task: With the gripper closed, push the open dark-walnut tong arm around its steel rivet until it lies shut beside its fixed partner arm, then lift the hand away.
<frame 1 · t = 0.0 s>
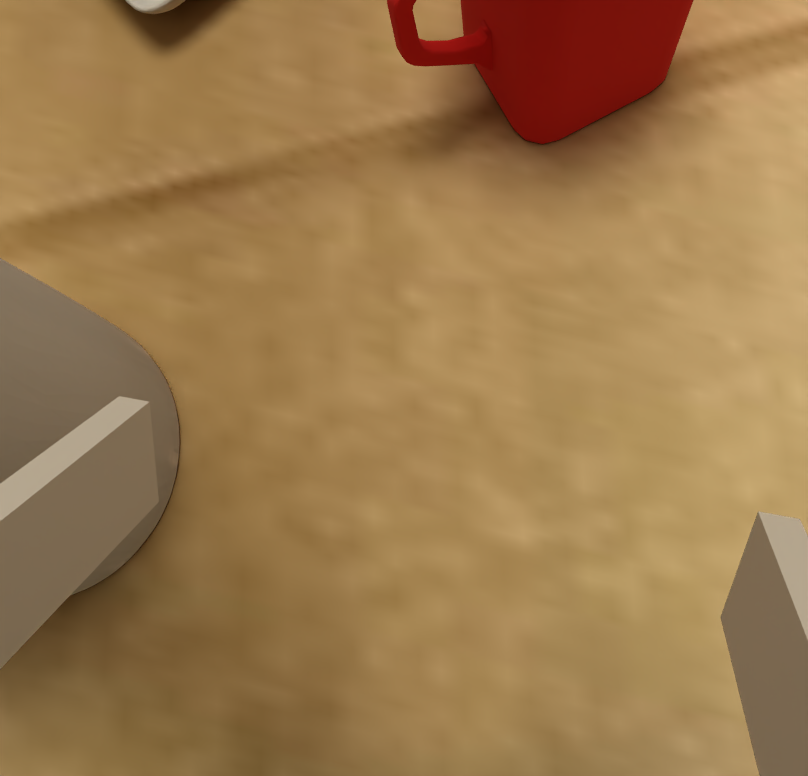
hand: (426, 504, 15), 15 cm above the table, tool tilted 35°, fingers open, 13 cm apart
utensil holder: (51, 455, 34), on the table
mug: (528, 74, 34), on the table
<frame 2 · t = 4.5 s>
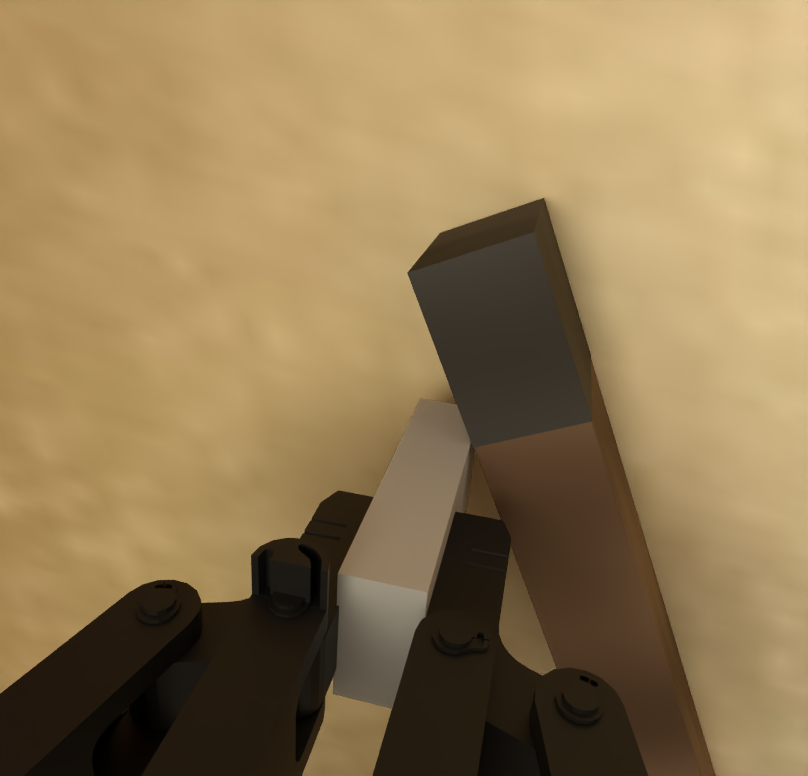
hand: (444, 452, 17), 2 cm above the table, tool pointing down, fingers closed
tong arm: (626, 670, 19), point 2 cm above the table, hinge at 26.0°, touching gripper
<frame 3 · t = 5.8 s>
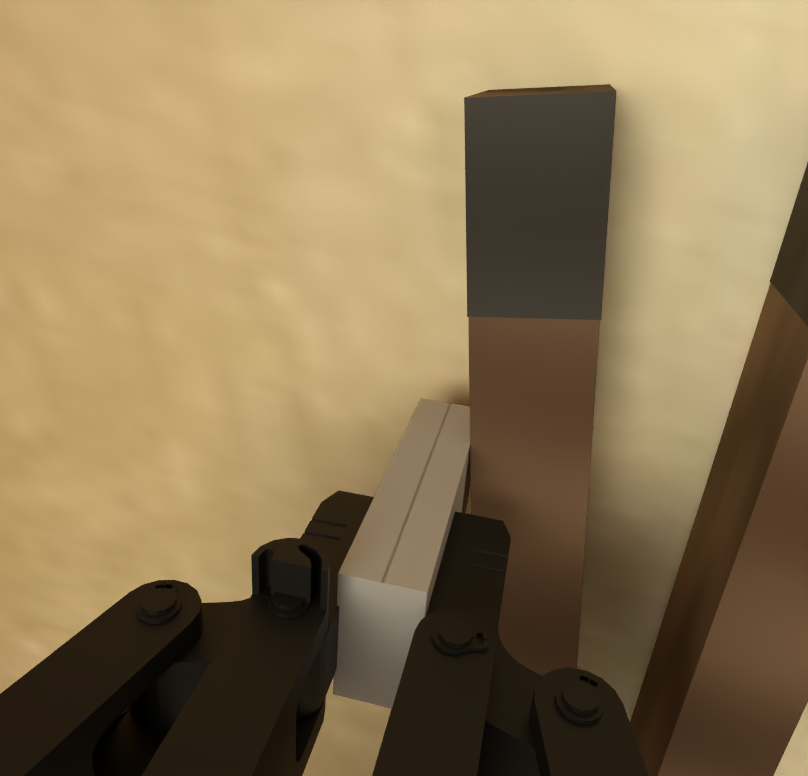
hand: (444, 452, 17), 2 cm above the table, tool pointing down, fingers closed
tong arm: (529, 595, 19), point 2 cm above the table, hinge at 7.7°, touching gripper
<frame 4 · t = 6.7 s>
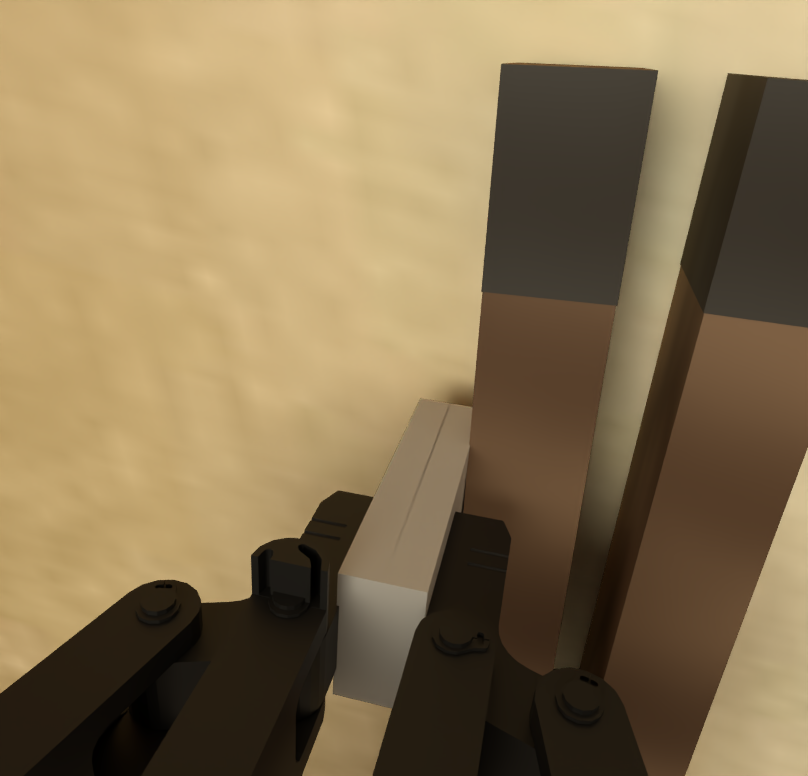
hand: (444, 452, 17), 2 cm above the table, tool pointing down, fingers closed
tong arm: (512, 580, 19), point 2 cm above the table, hinge at 2.2°, touching gripper
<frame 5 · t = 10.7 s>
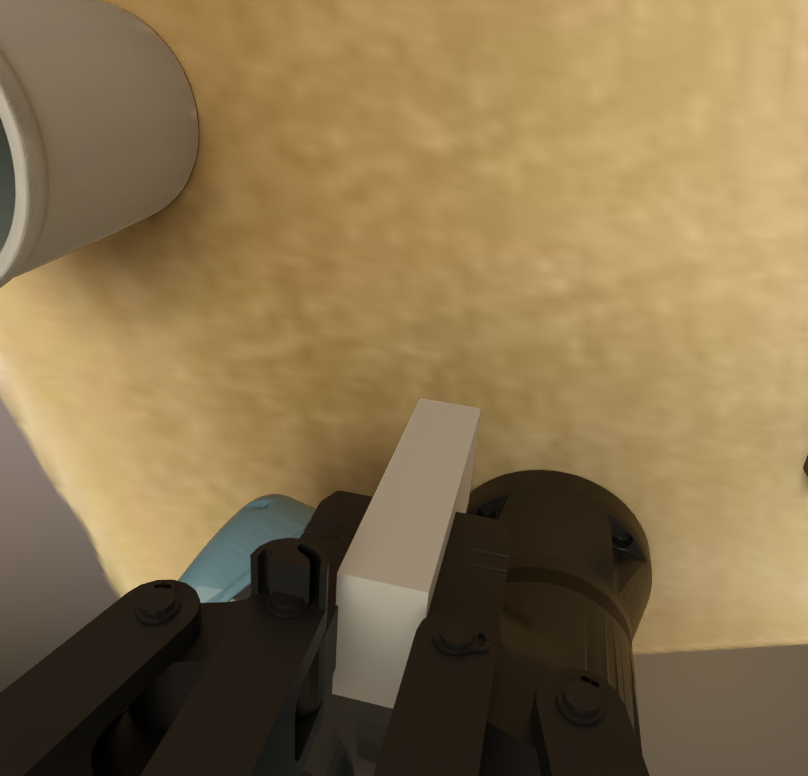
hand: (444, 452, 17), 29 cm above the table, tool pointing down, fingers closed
utensil holder: (110, 117, 47), on the table
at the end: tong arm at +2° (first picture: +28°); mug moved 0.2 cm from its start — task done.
